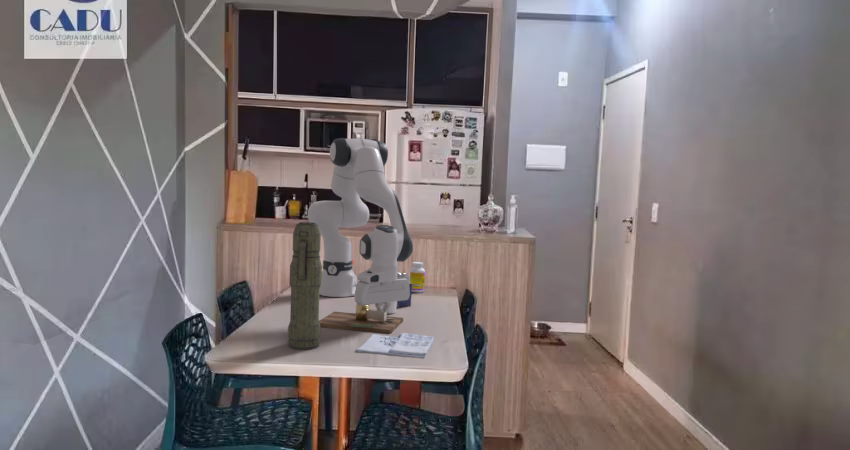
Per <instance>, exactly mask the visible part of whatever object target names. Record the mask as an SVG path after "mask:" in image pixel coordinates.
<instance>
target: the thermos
mask: <svg viewBox="0 0 850 450" xmlns="http://www.w3.org/2000/svg"><path fill="white" fill-rule="evenodd" d="M321 238H322V235H321V233H320V229H319V226H318V225H317V224H316V223H311V222H310V221H309V222H306V221H305V222H298V223H296V224H295V227H294V230H293V233H292V252H293V253H292V256H291V257H292V259H291V263H290V264H289V265H290V266H289V286H290V313H289V314H290V316H289V317H290V319H289V320H290V321H289V323H288V326H287V338H288V343H287V344H288V348H290V349H293V350H298V351H308V350H309V351H310V350H314V349H317V348H319V347H320V337H321V327H320V322H319V319H320V315H319V313H320V294H319V290H320V286H321V279H322V271H323V270H322V269H323V264H322V261H321V256H320V251H321V240H322V239H321Z"/></svg>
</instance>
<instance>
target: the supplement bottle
mask: <svg viewBox="0 0 850 450" xmlns="http://www.w3.org/2000/svg"><path fill="white" fill-rule="evenodd" d="M423 266H424V262H422V261H421V262H420V261H412V267H411V268H410V269H409V270H410V271H409V283H412V292H411V293H415V294H416V293H423V292H425V285H426V283H425V282H426V281H425V280H426V279H425V278H426V277H425V276H426V270H425V269H424V268H423Z"/></svg>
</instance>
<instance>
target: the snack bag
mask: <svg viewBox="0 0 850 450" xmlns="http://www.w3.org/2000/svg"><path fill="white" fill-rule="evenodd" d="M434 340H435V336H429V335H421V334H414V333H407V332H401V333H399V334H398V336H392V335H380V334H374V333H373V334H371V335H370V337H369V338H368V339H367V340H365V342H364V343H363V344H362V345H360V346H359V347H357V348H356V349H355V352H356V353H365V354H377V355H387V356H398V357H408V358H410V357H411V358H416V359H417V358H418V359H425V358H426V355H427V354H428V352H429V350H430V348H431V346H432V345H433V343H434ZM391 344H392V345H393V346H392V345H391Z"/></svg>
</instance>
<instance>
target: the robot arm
mask: <svg viewBox="0 0 850 450" xmlns="http://www.w3.org/2000/svg"><path fill="white" fill-rule="evenodd" d="M388 156H389V150H388V146H387V145H386V143H385V142H383V141H381V140H376V139H375V140H373V139H367V138H344V137H340V138H334V140H333V141H332V143H330V148H329V157H330V158H329V159H330V161H331V162H332V164H333V165H334V167H333V171H332V178H331V182H330V188H331V190H332V192H333V193H334V194H335V195H336V196H337V197H340V198H341V200H319V201H314V202H312V203H311V204H310V205H309V207H308V209H307V219H308V221H309V222H310V223H316V224H317V225H318V226H319V229H320V233H321V238H322V240H323V250H324V251H323V252H324V253H323V254H324V255H323V258H324V259H323V260H322V269H323V270H322V279H321V286H320V290H319V296H323V297H329V298H330V297H331V298H342V297H343V298H346V297H354V302H355V303H356V305H357V304H359V305H369V306H370V305H374V306H375V308H376V310H380V311H386V312H387V310H388V309H389V307H390V304H391V302H394V301H402V300H408V299H409V297H410V288H409V283H410V275H409V274H407V273H406V272H402V273H400V272H399V271H398V268H399V267H398V266H399V265H398V262H401V263H402V262H405V261H406V260H408V259H409V257H410V256H412V254H413V247H414V246H413V245H414V244H413V241H412V238H411V235H410V233H409V231H408V229H407V226H406V221H405V218H404V214H403V211H402V207H401V204H400V201H399V198H398V195H397V193H396V191H395V190H393V189H392V188H391V187H390V186H389V184H388V182H387V179H386V176H385V175H386V173H385V172H386V171H385V168H384V166H386V164H387V162H388V159H389V157H388ZM362 199H363V200H364V201H366V202H369V203H370V204H374V205H376V206H378V207H380V208H382V209H383V210H384V211H385V212H386V213H387V216H388V219H389V221H390V225H388V224H387V225H386V224H380V225H379V224H378V225H376V226H375V227H374V229H373V231H372V232H369V233H365V234H364V235H363V236H362V237H361V238H360V240H359V254H360V256H361V257H362V258H363V259H365V260H366V261H371V264H370V268H367V269H366V270H363V271H362V272H360V273H358V274H357V275H356V274H355V273H354V270H353V265H354V260H352V243H351V241H350V239H349V238H347V237H346V236H344V235H342V234H340V230H339V228H357V227H362V226H365V225H366V224H367V223H368V221H369V219H370V210H369V209H370V208H369V207H368V206H367V204H366V203H364V202H363V200H362ZM397 271H398V272H399V273H397ZM382 303H384V304H385V305H384V307H383V309H382Z"/></svg>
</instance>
